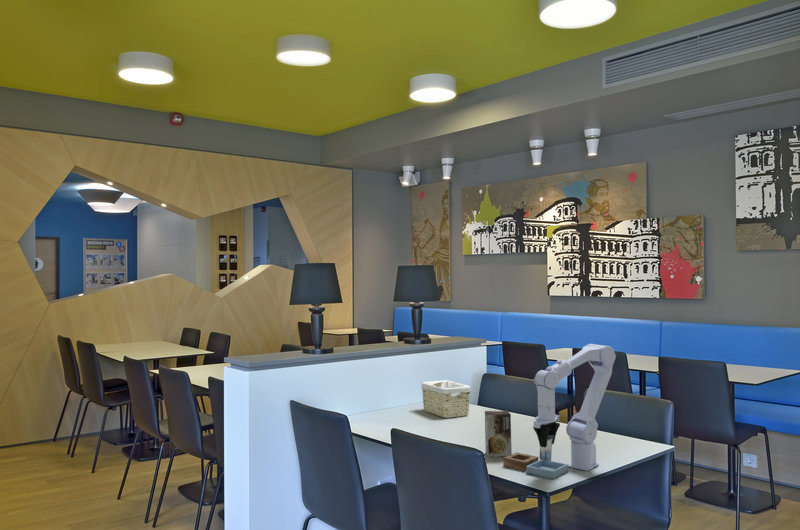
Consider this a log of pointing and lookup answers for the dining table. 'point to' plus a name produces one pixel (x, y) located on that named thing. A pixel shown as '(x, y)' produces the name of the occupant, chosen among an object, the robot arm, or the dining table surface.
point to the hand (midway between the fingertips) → (546, 445)
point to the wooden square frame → (519, 461)
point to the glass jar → (547, 449)
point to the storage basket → (446, 398)
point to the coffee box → (498, 433)
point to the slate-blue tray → (547, 469)
